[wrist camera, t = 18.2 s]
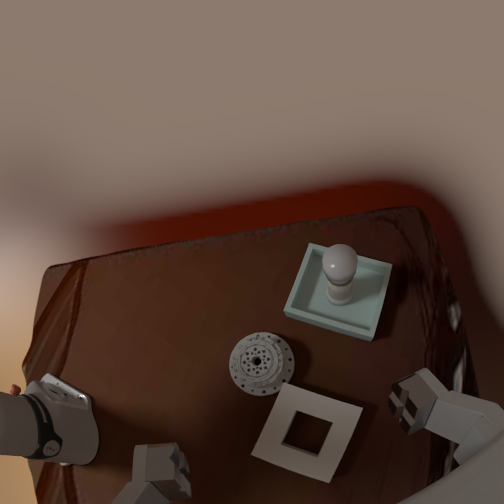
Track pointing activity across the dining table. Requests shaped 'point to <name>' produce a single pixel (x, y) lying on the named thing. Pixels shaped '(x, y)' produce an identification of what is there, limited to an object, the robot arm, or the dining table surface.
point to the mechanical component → (248, 371)
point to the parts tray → (339, 317)
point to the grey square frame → (299, 459)
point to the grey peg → (340, 273)
